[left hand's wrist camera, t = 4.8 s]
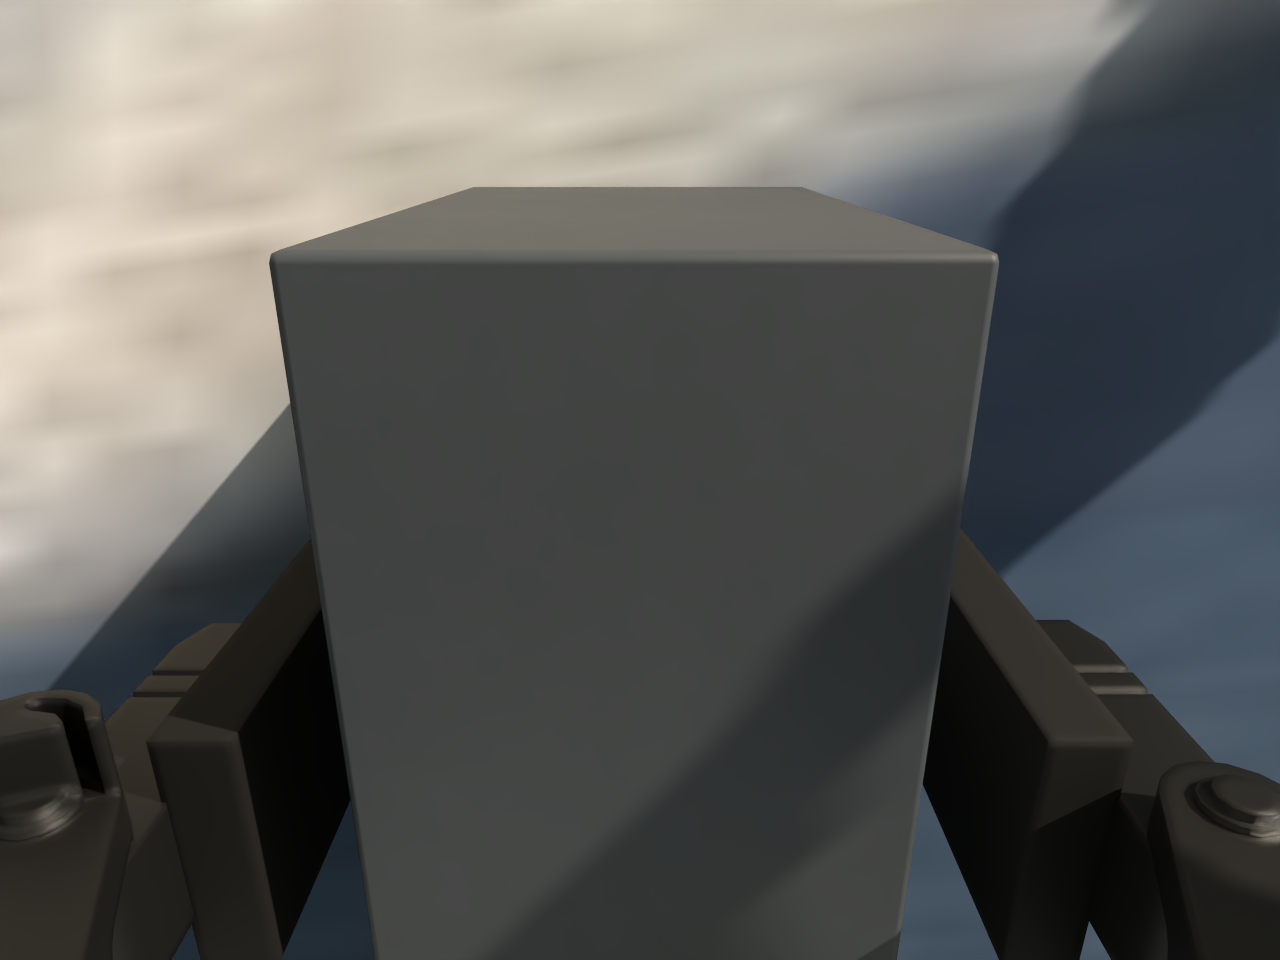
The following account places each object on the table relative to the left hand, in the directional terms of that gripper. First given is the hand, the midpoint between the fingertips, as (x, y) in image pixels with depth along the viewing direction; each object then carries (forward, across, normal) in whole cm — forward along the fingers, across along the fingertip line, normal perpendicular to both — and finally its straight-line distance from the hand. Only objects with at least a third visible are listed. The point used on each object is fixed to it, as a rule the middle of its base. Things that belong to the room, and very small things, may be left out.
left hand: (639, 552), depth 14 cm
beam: (+1, 0, -23) cm, 23 cm away
